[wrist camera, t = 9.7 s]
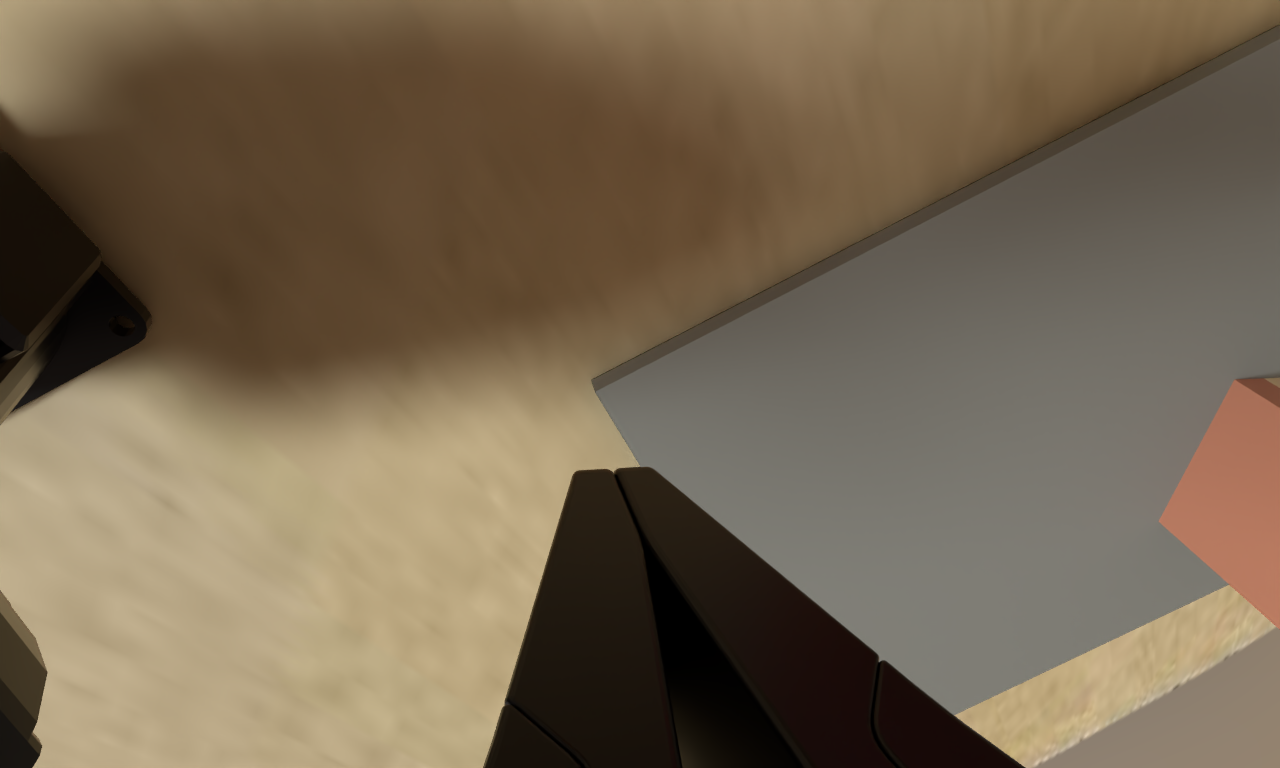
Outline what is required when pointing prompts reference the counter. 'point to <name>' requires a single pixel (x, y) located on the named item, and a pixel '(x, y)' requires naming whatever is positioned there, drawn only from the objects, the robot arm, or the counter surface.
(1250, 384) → the maple block
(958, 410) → the slate mat
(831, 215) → the counter surface
